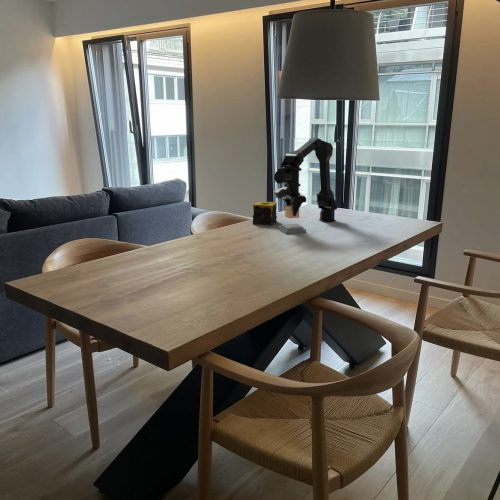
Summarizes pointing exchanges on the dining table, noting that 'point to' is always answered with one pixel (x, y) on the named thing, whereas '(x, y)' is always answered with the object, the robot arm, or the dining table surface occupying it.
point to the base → (291, 228)
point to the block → (290, 212)
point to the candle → (264, 213)
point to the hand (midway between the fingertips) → (292, 214)
